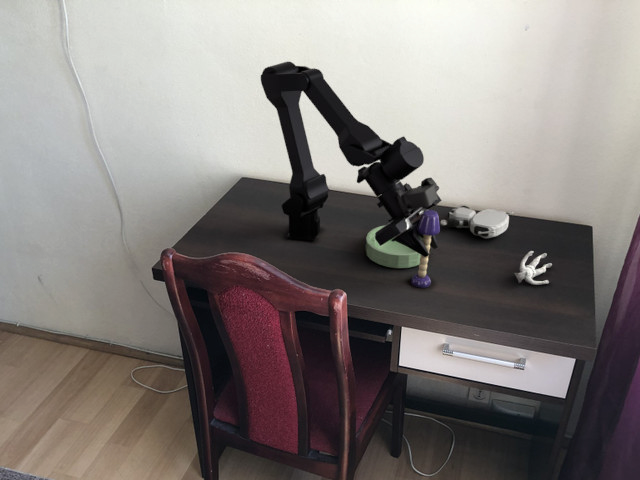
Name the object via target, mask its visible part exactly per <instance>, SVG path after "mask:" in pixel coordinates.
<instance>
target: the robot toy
mask: <svg viewBox="0 0 640 480" xmlns="http://www.w3.org/2000/svg"><path fill="white" fill-rule="evenodd" d="M514 213H515V212H513V211H509V212H505V211H504V210H498V209H493V208H487V209H483V210H481V211H479V212H477V211H475V210H474V209H471V208H470V207H468V206H467V205H458V206H456V207H455V208H452V209H451V210H450V211H448V212H447V220H446V219H441V220H440V226H447V228H456V229H457V228H458V229H462V228H464V229H469V231H470V232H471V233H472V234H473V235H474V236H477V237H478V236H479V237H480V238H483V239H490V238H495V237H498V236H500V235H501V234H503V233H504V232H506V231H507V229H508V228H509V222H510V216H509V215H514Z"/></svg>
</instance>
